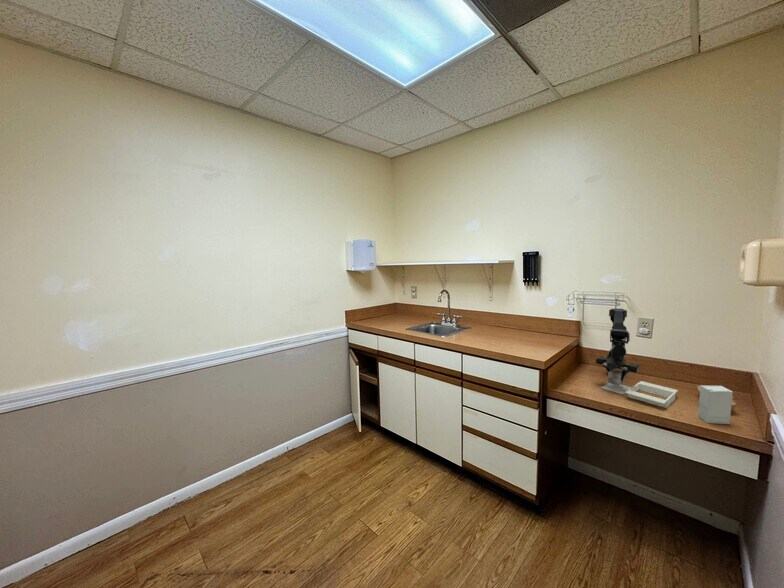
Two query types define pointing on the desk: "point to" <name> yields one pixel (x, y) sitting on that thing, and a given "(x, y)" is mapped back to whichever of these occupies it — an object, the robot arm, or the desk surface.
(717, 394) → the skincare box
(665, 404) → the white shallow rectangular tray
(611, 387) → the mat
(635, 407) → the desk surface
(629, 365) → the robot arm
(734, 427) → the desk surface
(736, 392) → the desk surface
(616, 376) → the box
